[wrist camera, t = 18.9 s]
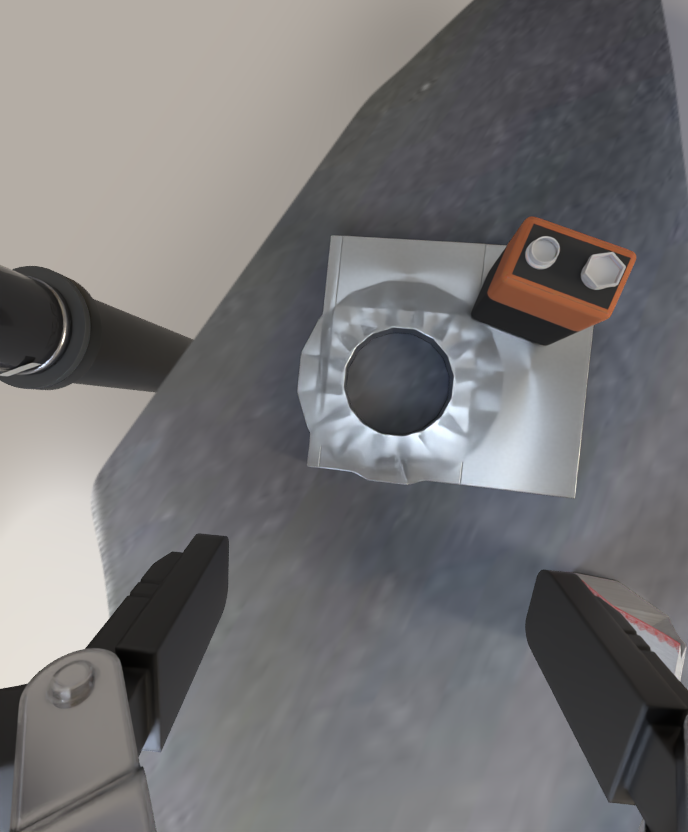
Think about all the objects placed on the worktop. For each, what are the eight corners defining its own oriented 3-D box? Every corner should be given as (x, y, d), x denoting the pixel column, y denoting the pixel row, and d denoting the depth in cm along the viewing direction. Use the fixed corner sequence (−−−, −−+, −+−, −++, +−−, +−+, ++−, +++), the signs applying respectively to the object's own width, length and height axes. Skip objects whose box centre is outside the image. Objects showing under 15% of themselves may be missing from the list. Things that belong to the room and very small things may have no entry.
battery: (547, 348, 32) (620, 317, 22) (467, 318, 32) (503, 274, 23) (569, 298, 32) (653, 244, 22) (489, 268, 32) (534, 202, 22)
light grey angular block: (618, 581, 33) (718, 651, 23) (604, 660, 33) (697, 764, 23) (572, 572, 33) (651, 637, 23) (558, 650, 34) (631, 748, 24)
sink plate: (293, 467, 36) (288, 470, 34) (317, 244, 36) (313, 233, 34) (563, 500, 34) (574, 505, 32) (589, 260, 33) (602, 250, 31)
